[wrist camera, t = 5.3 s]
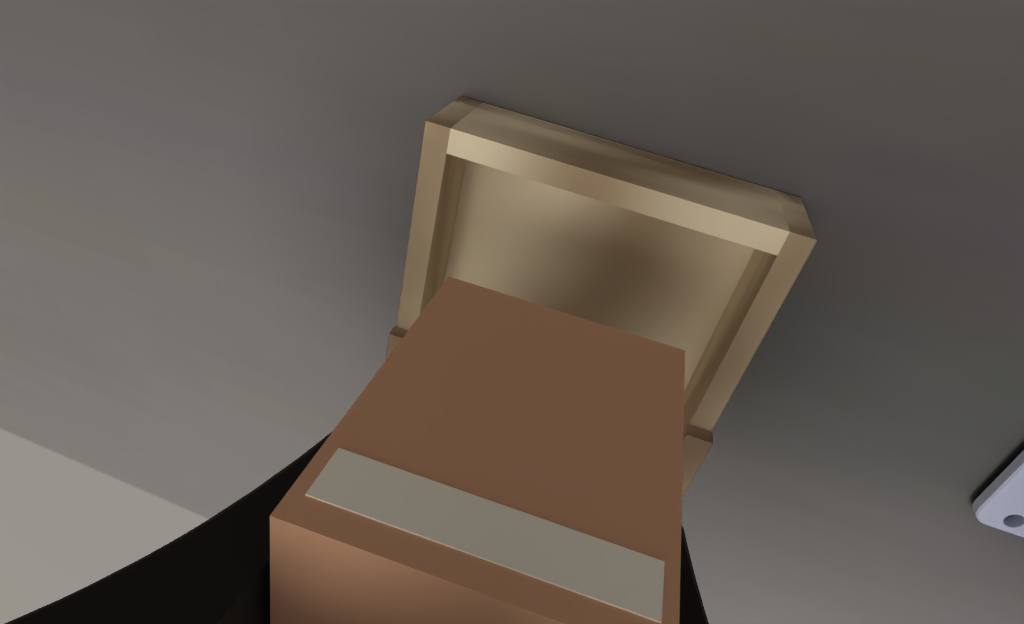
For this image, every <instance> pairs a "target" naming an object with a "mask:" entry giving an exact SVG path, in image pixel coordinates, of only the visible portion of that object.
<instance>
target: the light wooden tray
mask: <svg viewBox="0 0 1024 624" xmlns="http://www.w3.org/2000/svg"><path fill="white" fill-rule="evenodd" d="M816 242H817V238H816V235H815V233H814V230H813V228H812V225H811V223H810V220H809V217H808V215H807V212H806V210H805V207H804V205H803V202H802V200H801V197H797V196H794V195H791V194H787V193H784V192H781V191H777V190H774V189H770V188H767V187H764V186H760V185H757V184H754V183H750V182H747V181H744V180H740V179H737V178H734V177H730V176H727V175H724V174H720V173H717V172H714V171H710V170H707V169H704V168H700V167H697V166H694V165H690V164H687V163H684V162H680V161H677V160H674V159H670V158H667V157H664V156H660V155H657V154H654V153H650V152H647V151H644V150H640V149H637V148H634V147H630V146H627V145H624V144H620V143H617V142H614V141H610V140H607V139H603V138H600V137H597V136H593V135H590V134H587V133H583V132H580V131H577V130H573V129H570V128H567V127H563V126H560V125H557V124H553V123H550V122H547V121H543V120H540V119H537V118H533V117H530V116H527V115H523V114H520V113H517V112H513V111H510V110H507V109H503V108H500V107H497V106H493V105H490V104H487V103H483V102H480V101H477V100H473V99H470V98H467V97H463V96H460V97H459V98H457V99H456V100H455V101H453V102H452V103H450V104H449V105H448V106H446V107H445V108H443V109H442V110H440V111H439V112H438V113H436V114H435V115H433V116H432V117H431V118H429V119H428V120H426V123H425V130H424V137H423V144H422V151H421V158H420V165H419V172H418V179H417V186H416V193H415V200H414V207H413V214H412V221H411V228H410V235H409V242H408V250H407V257H406V264H405V271H404V278H403V285H402V292H401V299H400V306H399V313H398V320H397V327H396V326H395V327H394V328H393V329H392V331H391V332H390V333H389V338H388V346H387V353H386V360H387V358H388V357H389V356H390V354H391V353H392V352H393V350H394V349H395V348H396V346H397V345H398V344H399V342H400V341H401V340H402V338H403V337H404V335H405V334H406V333H407V331H408V330H409V329H410V327H411V326H412V325H413V323H414V322H415V321H416V319H417V318H418V317H419V315H420V314H421V313H422V311H423V310H424V309H425V307H426V306H427V305H428V303H429V302H430V301H431V299H432V298H433V297H434V295H435V294H436V293H437V291H438V290H439V289H440V287H441V286H442V285H443V283H444V282H445V281H446V279H447V278H448V277H452V278H456V279H459V280H462V281H465V282H468V283H472V284H475V285H478V286H481V287H484V288H488V289H491V290H494V291H497V292H500V293H503V294H507V295H510V296H513V297H516V298H519V299H523V300H526V301H529V302H532V303H535V304H539V305H542V306H545V307H548V308H551V309H554V310H558V311H561V312H564V313H567V314H570V315H574V316H577V317H580V318H583V319H586V320H590V321H593V322H596V323H599V324H602V325H605V326H609V327H612V328H615V329H618V330H621V331H625V332H628V333H631V334H634V335H637V336H641V337H644V338H647V339H650V340H653V341H656V342H660V343H663V344H666V345H669V346H672V347H676V348H679V349H682V350H685V379H684V427H683V474H682V497H683V495H684V493H685V492H686V490H687V488H688V486H689V485H690V483H691V481H692V479H693V477H694V476H695V474H696V472H697V470H698V469H699V467H700V465H701V463H702V462H703V460H704V458H705V456H706V454H707V453H708V451H709V449H710V447H711V446H712V444H713V435H712V433H711V431H712V429H713V427H714V426H715V424H716V422H717V420H718V418H719V417H720V415H721V413H722V411H723V409H724V408H725V406H726V404H727V402H728V400H729V399H730V397H731V395H732V393H733V391H734V390H735V388H736V386H737V384H738V382H739V381H740V379H741V377H742V375H743V373H744V372H745V370H746V368H747V366H748V364H749V363H750V361H751V359H752V357H753V355H754V354H755V352H756V350H757V348H758V346H759V345H760V343H761V341H762V339H763V337H764V336H765V334H766V332H767V330H768V328H769V327H770V325H771V323H772V321H773V319H774V318H775V316H776V314H777V312H778V310H779V309H780V307H781V305H782V303H783V301H784V300H785V298H786V296H787V294H788V292H789V291H790V289H791V287H792V285H793V283H794V282H795V280H796V278H797V276H798V274H799V273H800V271H801V269H802V267H803V265H804V264H805V262H806V260H807V258H808V256H809V255H810V253H811V251H812V249H813V247H814V246H815V244H816ZM386 360H385V361H386Z"/></svg>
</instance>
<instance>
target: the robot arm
mask: <svg viewBox="0 0 1024 624" xmlns="http://www.w3.org/2000/svg"><path fill="white" fill-rule="evenodd" d="M332 432H333V431H332ZM332 432H331V433H332ZM331 433H330V434H329V435H327V436H326V437H325V438H324V439H322V440H321V441H320V442H319V443H317V444H316V445H315V446H313V447H312V448H311V449H309V450H308V451H307V452H306V453H304V454H303V455H302V456H300V457H299V458H298V459H296V460H295V461H294V462H292V463H291V464H289V465H288V466H287V467H285V468H284V469H283V470H281V471H280V472H278V473H277V474H276V475H274V476H273V477H271V478H270V479H269V480H267V481H266V482H265V483H263V484H262V485H260V486H259V487H257V488H256V489H255V490H253V491H252V492H250V493H249V494H247V495H246V496H244V497H242V498H241V499H239V500H238V501H236V502H235V503H233V504H232V505H230V506H229V507H227V508H226V509H224V510H223V511H221V512H219V513H218V514H216V515H215V516H213V517H212V518H210V519H209V520H207V521H205V522H204V523H202V524H201V525H199V526H197V527H196V528H194V529H193V530H191V531H189V532H187V533H186V534H184V535H182V536H181V537H179V538H177V539H175V540H174V541H172V542H170V543H169V544H167V545H165V546H163V547H161V548H159V549H158V550H156V551H154V552H152V553H151V554H149V555H147V556H145V557H143V558H141V559H140V560H138V561H136V562H134V563H132V564H130V565H128V566H126V567H124V568H122V569H120V570H118V571H116V572H114V573H112V574H111V575H109V576H107V577H105V578H103V579H101V580H99V581H97V582H95V583H93V584H91V585H89V586H87V587H85V588H83V589H81V590H79V591H77V592H75V593H72V594H71V595H68V596H66V597H64V598H62V599H60V600H58V601H55V602H53V603H51V604H49V605H46V606H44V607H42V608H39V609H37V610H35V611H33V612H30V613H28V614H26V615H24V616H21V617H19V618H17V619H14V620H12V621H10V622H8V623H5V624H270V515H271V513H272V512H273V511H274V509H275V508H276V507H277V505H278V504H279V503H280V501H281V500H282V499H283V497H284V496H285V495H286V493H287V492H288V491H289V489H290V488H291V487H292V485H293V484H294V483H295V481H296V480H297V479H298V477H299V476H300V475H301V473H302V472H303V471H304V469H305V468H306V467H307V465H308V464H309V463H310V461H311V460H312V459H313V457H314V456H315V455H316V453H317V452H318V451H319V449H320V448H321V447H322V445H323V444H324V443H325V441H326V440H327V439H328V437H329V436H330V435H331ZM972 510H973V512H974V514H975V516H976V518H977V519H978V520H979V522H981V523H983V524H985V525H988V526H991V527H994V528H997V529H1000V530H1003V531H1006V532H1009V533H1012V534H1015V535H1018V536H1021V537H1024V450H1023V451H1022V452H1021V453H1020V454H1019V455H1018V456H1017V457H1016V458H1015V459H1014V461H1013V462H1012V463H1011V464H1010V465H1009V466H1008V467H1007V468H1006V469H1005V470H1004V471H1003V472H1002V473H1001V474H1000V475H999V476H998V477H997V478H996V479H995V480H994V481H993V482H992V483H991V484H990V485H989V486H988V487H987V488H986V489H985V490H984V491H983V492H982V494H981V495H980V496H979V497H978V498H977V499H976V500H975V501H974V503H973V504H972ZM1009 515H1015V516H1011V517H1007V516H1009ZM679 624H709V623H708V620H707V617H706V613H705V610H704V607H703V603H702V600H701V596H700V593H699V589H698V585H697V582H696V578H695V574H694V570H693V567H692V563H691V559H690V555H689V550H688V546H687V542H686V537H685V533H684V529H683V527H682V525H681V568H680V616H679Z"/></svg>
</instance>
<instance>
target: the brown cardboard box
mask: <svg viewBox="0 0 1024 624" xmlns="http://www.w3.org/2000/svg"><path fill="white" fill-rule="evenodd" d="M684 379H685V350H682V349H679V348H676V347H672V346H669V345H666V344H663V343H660V342H656V341H653V340H650V339H647V338H644V337H641V336H637V335H634V334H631V333H628V332H625V331H621V330H618V329H615V328H612V327H609V326H605V325H602V324H599V323H596V322H593V321H590V320H586V319H583V318H580V317H577V316H574V315H570V314H567V313H564V312H561V311H558V310H554V309H551V308H548V307H545V306H542V305H539V304H535V303H532V302H529V301H526V300H523V299H519V298H516V297H513V296H510V295H507V294H503V293H500V292H497V291H494V290H491V289H488V288H484V287H481V286H478V285H475V284H472V283H468V282H465V281H462V280H459V279H456V278H452V277H448V278H447V279H446V281H445V282H444V283H443V285H442V286H441V287H440V289H439V290H438V291H437V293H436V294H435V295H434V297H433V298H432V299H431V301H430V302H429V303H428V305H427V306H426V307H425V309H424V310H423V311H422V313H421V314H420V315H419V317H418V318H417V319H416V321H415V322H414V323H413V325H412V326H411V327H410V329H409V330H408V331H407V333H406V334H405V335H404V337H403V338H402V340H401V341H400V342H399V344H398V345H397V346H396V348H395V349H394V350H393V352H392V353H391V354H390V356H389V357H388V358H387V360H386V361H385V362H384V364H383V365H382V366H381V368H380V369H379V370H378V372H377V373H376V374H375V376H374V377H373V378H372V380H371V381H370V382H369V384H368V385H367V386H366V388H365V389H364V390H363V392H362V393H361V394H360V396H359V397H358V398H357V400H356V401H355V402H354V404H353V405H352V406H351V408H350V409H349V410H348V412H347V413H346V414H345V416H344V417H343V418H342V420H341V421H340V422H339V424H338V425H337V426H336V428H335V429H334V430H333V432H332V433H331V435H330V436H329V437H328V439H327V440H326V441H325V443H324V444H323V445H322V447H321V448H320V449H319V451H318V452H317V453H316V455H315V456H314V457H313V459H312V460H311V461H310V463H309V464H308V465H307V467H306V468H305V469H304V471H303V472H302V473H301V475H300V476H299V477H298V479H297V480H296V481H295V483H294V484H293V485H292V487H291V488H290V489H289V491H288V492H287V493H286V495H285V496H284V497H283V499H282V500H281V501H280V503H279V504H278V505H277V507H276V508H275V509H274V511H273V512H272V513H271V515H270V624H679V616H680V568H681V521H682V474H683V427H684Z"/></svg>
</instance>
